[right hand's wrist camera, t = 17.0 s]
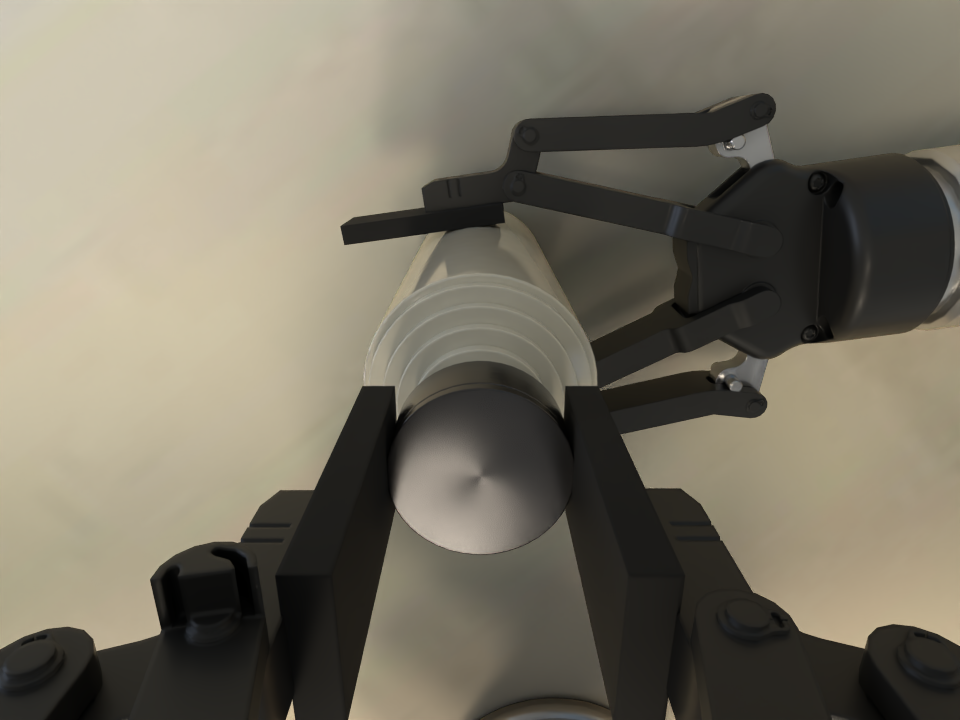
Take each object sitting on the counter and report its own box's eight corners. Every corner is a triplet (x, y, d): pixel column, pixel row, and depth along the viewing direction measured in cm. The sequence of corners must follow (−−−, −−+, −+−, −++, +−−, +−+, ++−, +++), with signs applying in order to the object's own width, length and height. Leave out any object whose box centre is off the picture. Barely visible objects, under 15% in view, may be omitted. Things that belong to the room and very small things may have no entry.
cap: (370, 386, 14) (357, 418, 13) (541, 339, 14) (549, 365, 12) (426, 529, 15) (420, 573, 14) (583, 489, 15) (594, 529, 14)
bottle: (399, 227, 32) (278, 371, 13) (524, 189, 31) (595, 280, 12) (439, 344, 34) (387, 617, 15) (556, 311, 33) (660, 552, 14)
